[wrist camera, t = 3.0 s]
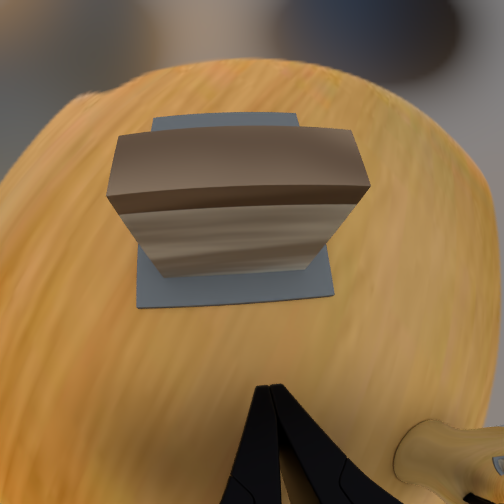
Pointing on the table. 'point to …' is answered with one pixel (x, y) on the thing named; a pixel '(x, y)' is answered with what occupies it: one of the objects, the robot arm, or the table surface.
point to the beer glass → (454, 462)
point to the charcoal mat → (235, 285)
